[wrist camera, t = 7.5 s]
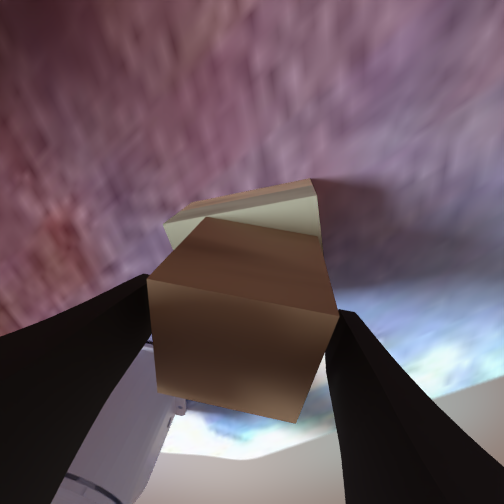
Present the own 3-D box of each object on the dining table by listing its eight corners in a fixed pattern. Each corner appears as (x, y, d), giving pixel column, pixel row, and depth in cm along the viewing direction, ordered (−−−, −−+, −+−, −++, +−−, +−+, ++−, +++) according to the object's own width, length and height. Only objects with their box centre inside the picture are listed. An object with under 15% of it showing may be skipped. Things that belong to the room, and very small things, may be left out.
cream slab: (322, 282, 16) (331, 326, 12) (224, 293, 18) (208, 334, 14) (309, 177, 13) (316, 195, 9) (193, 201, 15) (162, 224, 11)
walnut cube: (293, 321, 13) (295, 423, 8) (202, 303, 13) (157, 392, 9) (317, 236, 10) (339, 316, 6) (205, 216, 11) (146, 278, 6)
